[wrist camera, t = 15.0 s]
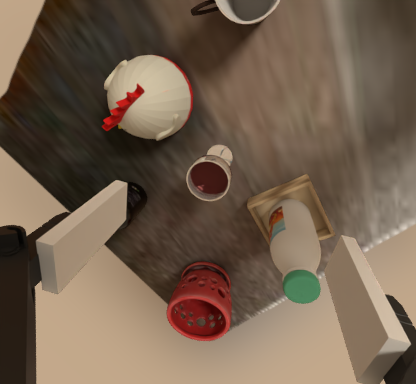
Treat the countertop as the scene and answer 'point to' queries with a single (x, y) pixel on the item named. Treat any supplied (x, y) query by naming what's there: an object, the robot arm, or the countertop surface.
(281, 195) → the wooden tray
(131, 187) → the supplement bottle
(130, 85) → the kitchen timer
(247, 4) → the coffee mug
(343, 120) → the countertop surface
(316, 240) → the milk bottle
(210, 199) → the wineglass
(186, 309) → the plant pot
